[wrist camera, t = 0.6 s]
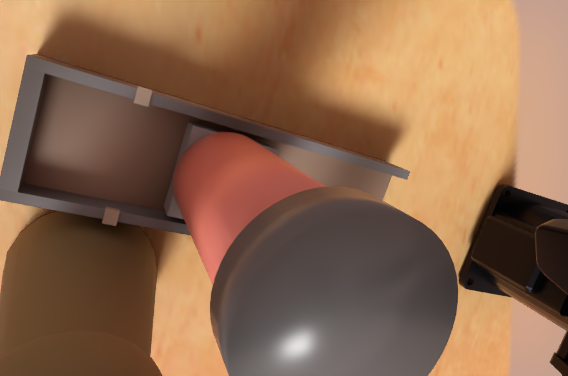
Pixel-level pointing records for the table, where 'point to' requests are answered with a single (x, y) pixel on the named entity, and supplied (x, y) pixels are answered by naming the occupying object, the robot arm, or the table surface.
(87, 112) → the track
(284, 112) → the table surface
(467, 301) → the table surface
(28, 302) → the olive rounded upright piece
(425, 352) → the plug
